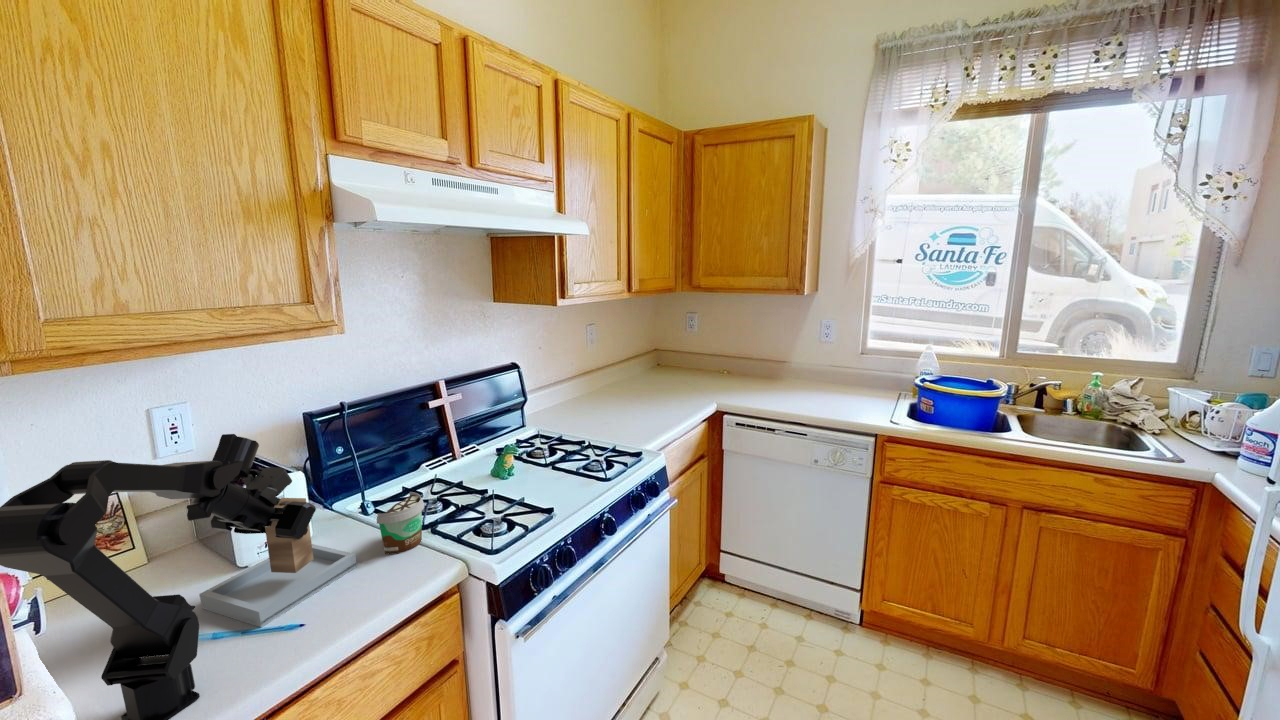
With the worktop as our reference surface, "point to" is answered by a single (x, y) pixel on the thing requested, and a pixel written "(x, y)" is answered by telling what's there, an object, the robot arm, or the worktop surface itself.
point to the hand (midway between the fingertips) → (294, 530)
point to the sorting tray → (275, 587)
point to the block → (288, 546)
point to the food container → (402, 525)
